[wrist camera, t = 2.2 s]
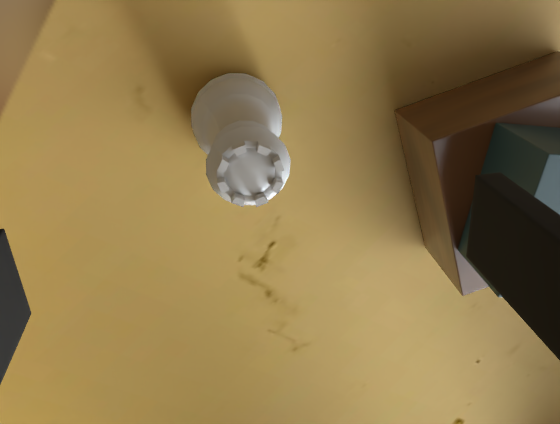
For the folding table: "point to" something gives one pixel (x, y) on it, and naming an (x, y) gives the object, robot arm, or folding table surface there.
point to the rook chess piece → (241, 138)
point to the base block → (468, 150)
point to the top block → (523, 167)
